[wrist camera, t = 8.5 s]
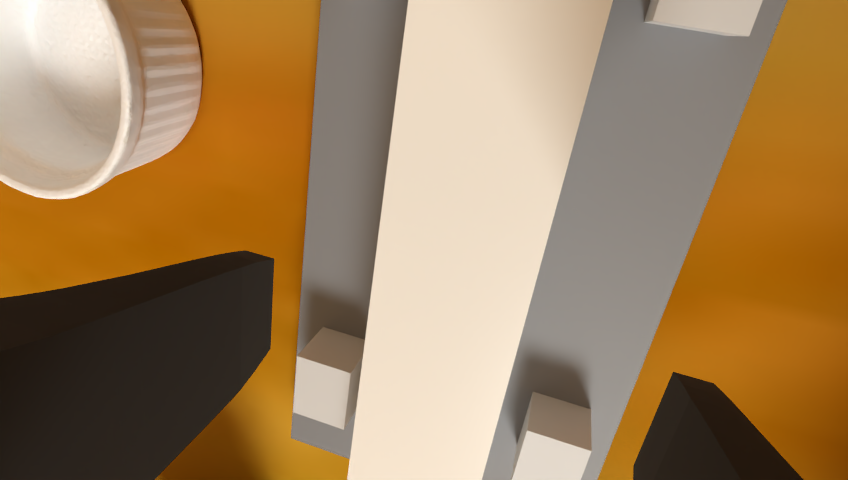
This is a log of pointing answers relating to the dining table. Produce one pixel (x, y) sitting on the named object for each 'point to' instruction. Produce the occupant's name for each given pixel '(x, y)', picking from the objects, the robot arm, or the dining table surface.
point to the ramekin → (92, 90)
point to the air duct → (465, 223)
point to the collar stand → (570, 231)
